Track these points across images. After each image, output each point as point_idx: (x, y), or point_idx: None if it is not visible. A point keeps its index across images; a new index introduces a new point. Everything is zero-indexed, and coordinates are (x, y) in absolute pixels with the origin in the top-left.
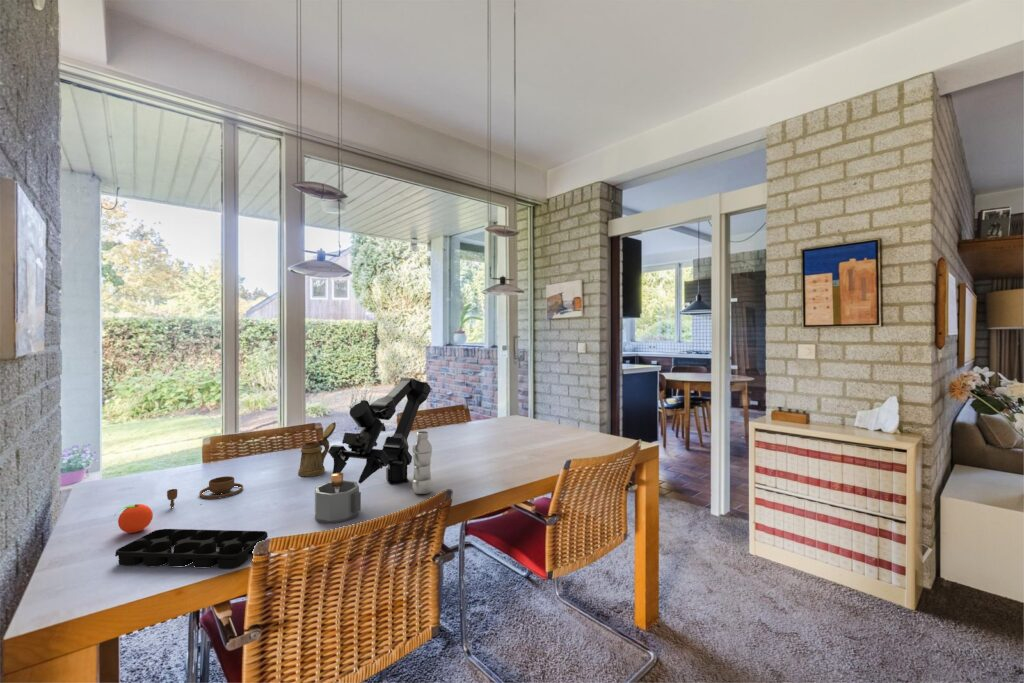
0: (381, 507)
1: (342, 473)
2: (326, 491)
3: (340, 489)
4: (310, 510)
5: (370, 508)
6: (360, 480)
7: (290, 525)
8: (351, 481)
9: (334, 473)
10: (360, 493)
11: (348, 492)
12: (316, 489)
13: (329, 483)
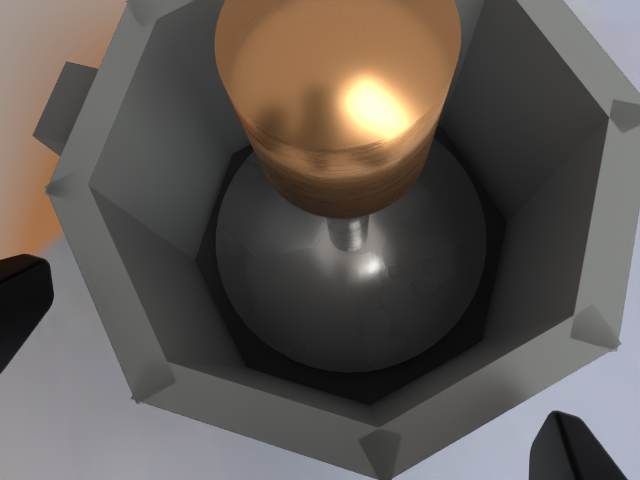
0: (21, 430)
1: (247, 105)
2: (538, 298)
3: (394, 404)
4: (635, 336)
5: (112, 403)
6: (2, 267)
7: (609, 53)
8: (222, 425)
9: (427, 89)
10: (41, 135)
11: (129, 1)
12: (591, 51)
13: (552, 328)
